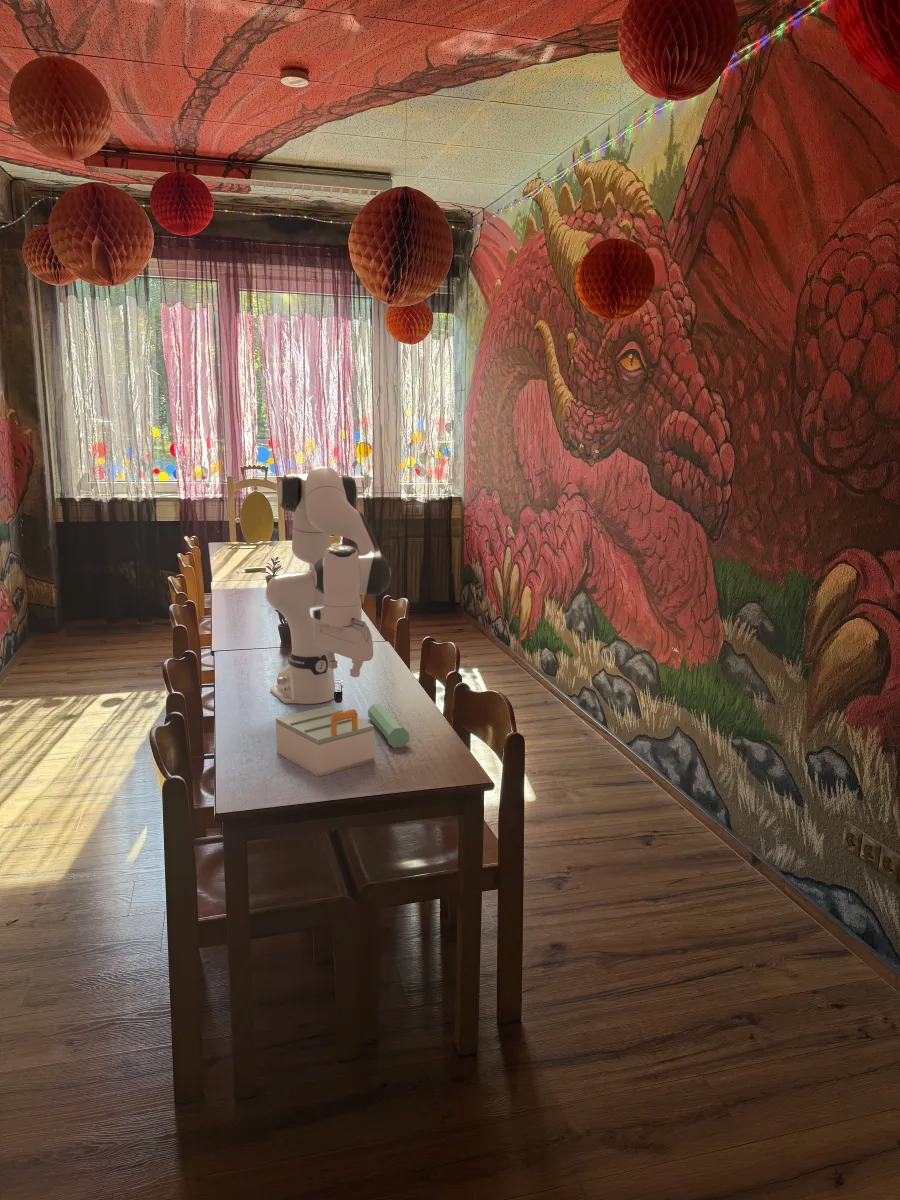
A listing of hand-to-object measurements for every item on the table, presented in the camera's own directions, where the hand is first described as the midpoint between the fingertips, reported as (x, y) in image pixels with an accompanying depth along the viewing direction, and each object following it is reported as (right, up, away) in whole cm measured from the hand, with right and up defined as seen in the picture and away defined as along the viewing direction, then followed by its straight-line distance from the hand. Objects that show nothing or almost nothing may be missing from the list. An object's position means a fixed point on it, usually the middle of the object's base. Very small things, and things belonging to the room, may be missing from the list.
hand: (343, 672), depth 205 cm
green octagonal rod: (+8, -19, +30) cm, 37 cm away
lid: (-6, -14, +10) cm, 18 cm away
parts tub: (-6, -22, +11) cm, 26 cm away
